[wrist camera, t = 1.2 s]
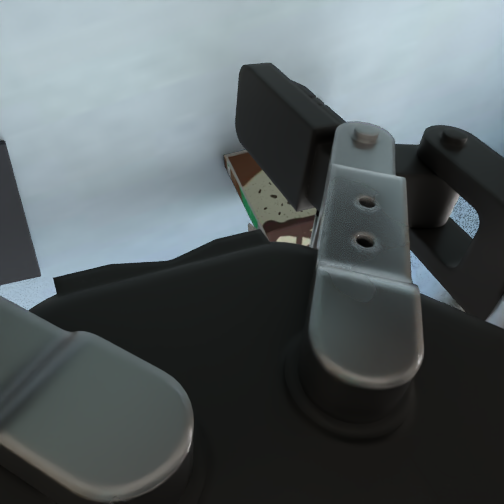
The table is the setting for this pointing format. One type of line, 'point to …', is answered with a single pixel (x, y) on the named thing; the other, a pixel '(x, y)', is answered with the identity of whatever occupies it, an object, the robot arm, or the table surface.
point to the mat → (13, 229)
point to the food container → (267, 202)
